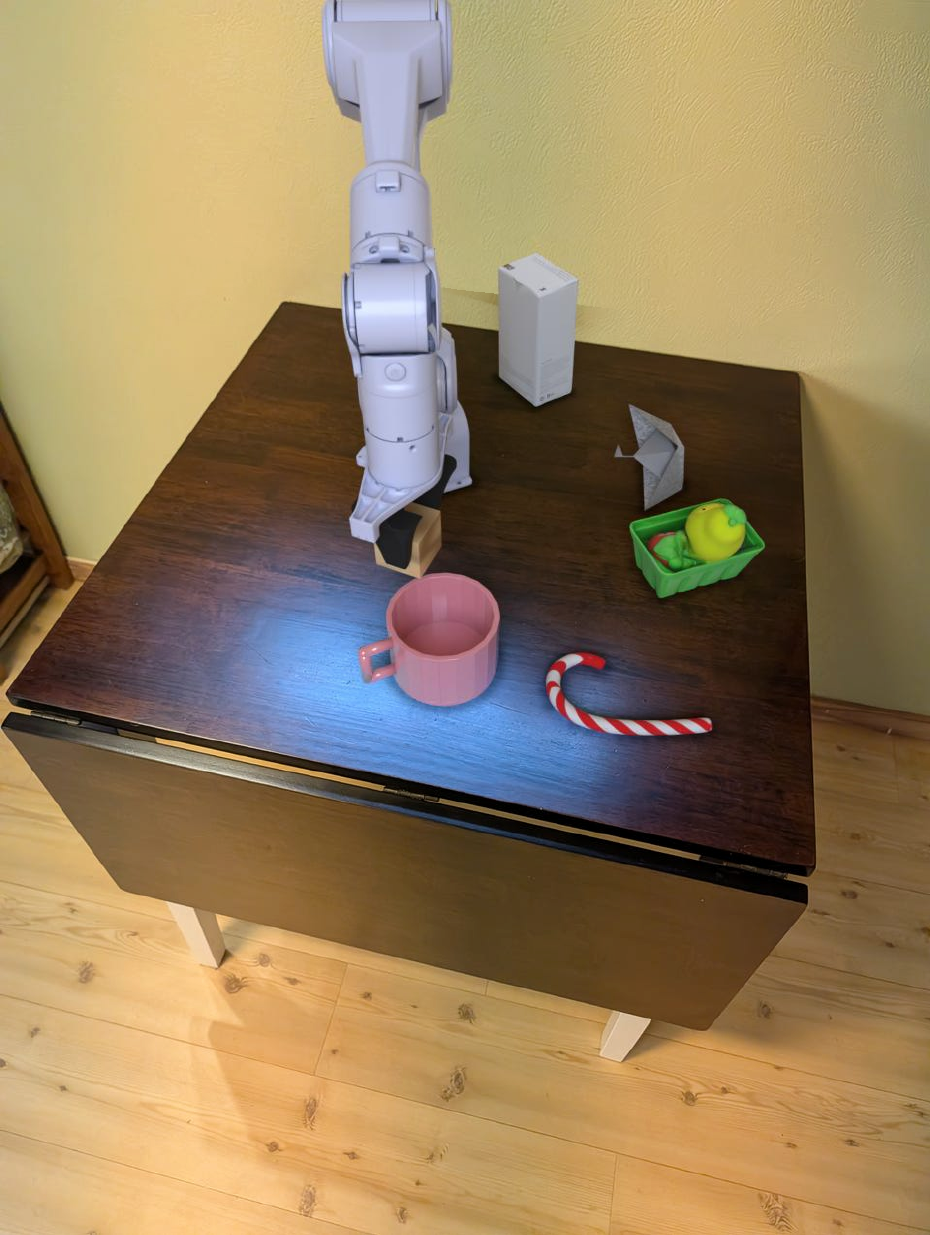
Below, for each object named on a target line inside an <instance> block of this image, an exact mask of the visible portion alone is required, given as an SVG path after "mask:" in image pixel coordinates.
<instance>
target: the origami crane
mask: <svg viewBox="0 0 930 1235" xmlns="http://www.w3.org/2000/svg"><path fill="white" fill-rule="evenodd" d="M628 407H629V411H630V415H631V419H632V425H633V428H634V432H635V437H636V441H637V446H638V450H637V451H636V452H635V453H634V454H633V455H623V453H622V451H621V448H620V445H619V444H617V447H616V450H615V452H614V458H634V459H635V460H636V461H638V462H639V463H640V464H641V465H642V469H643V472H642V473H643V493H644V494H643V496H644V497H643V500H644V511H647V510H649V509H650V508H652V507H654V506H655V505H658V504H659V503H660V502H663V501H664V500H666V499H668V498H669V497H671V496H673V495H674V494H677V493H678V492H680V491H681V490H683V484H684V472H685V471H684V470H685V469H684V468H685V446H684V445H683V443H682V441H681V439H680V438H679V436H678V434H677V433H676V431H675V429H674V427H673V425H672V424H671V423H670V422H668V421H666V420H663V419H662V418H659V417H657V416H655V415H653V414H652V413H651V414H650V413H649V412H646V411H645V410H642V409H641V408H638V407H636V406H634V405H633V404H630V403H628Z"/></svg>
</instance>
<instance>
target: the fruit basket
mask: <svg viewBox="0 0 930 1235" xmlns="http://www.w3.org/2000/svg"><path fill="white" fill-rule="evenodd" d="M629 533H630V536H631V538H632V544H633V552H634V557H635V558H634V559H635V566H637V568H638V569H640V570H641V572H642V576H644V578H645V579H646V581H647V583H648V584H649V585H650V587H651V588H652V589H653V590H655V593H656V596H657V597H658V598H659V599H663V598H666V597H670V596H673V595H675V594H676V593H684V592H688V591H690V590H694V589H696V588H697V587H698V586H699V587H702V586H703V587H704V586H708V585H711V584H712V585H713V584H715V583H717V582H718V581H720V580H723V581H725V580H727V579H732V578H735V577H737V576H738V575H739V573H741V572H742V570H743V569H744V568H746V566H747V565H748V564H749V563H750V561H752V560H753V558H754V557H756V556H757V555H758V554H759V553H761V552H762V551H763V550H764V549H765V548H766V545H765V542H764V540H763V539H762V538H761V537H760V536H759V534H758V533H757V531H755V529H754V528H753V526H752V525H751V524H750V523H749V521H747V514H746V513H745V511H744V509H742V508H740V507H739V506H737V505H735V504H734V503H733V502H731V501H730V500H729V499H727V498H716V499H714V500H710V501H706V502H702V503H699V504H695V505H691V506H687V507H683V508H680V509H676V510H672V511H669V512H668V511H667V512H665V513H661V514H657V515H654V516H650V517H646V518H645V517H644V518H641V519H638V520H634V521H632V522H631V523H630V524H629Z"/></svg>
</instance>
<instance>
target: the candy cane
mask: <svg viewBox="0 0 930 1235" xmlns="http://www.w3.org/2000/svg"><path fill="white" fill-rule="evenodd" d="M606 663H607V661H606V659H605V658H603V657H601V656H599V655H596V654H593V653H589V652H581V651H579V652H572V653H569V654H566V655H564V656H562V657H560V658H558V659H557V660H556V661H555V662H553V664H552V665H551V666H550V668H549V670H548V672H547V674H546V679H545V689H546V694H547V697H548V699H549V701H550V703H551V705H552V706H553V708H554V709H555V710H556V711H557V712H558V713H559V714H560V715H562V717H564V718H565V719H567V720H568V721H569V722H571V723H573V724H575V725H577V726H580V727H582V728H586V729H588V730H592V731H595V732H599V733H605V734H612V735H625V736H677V735H679V736H680V735H693V734H702V733H708V732H710V731H712V730H713V722H712V720H711V719H710V718H709V717H694V718H693V717H692V718H680V719H660V720H659V719H656V720H652V719H651V720H650V719H647V720H646V719H620V718H610V717H603V716H599V715H594V714H591V713H588V712H586V711H583V710H581V709H579V708H578V707H576V706H575V705H573V704H572V703H571V702H569V700H567V698H566V697H565V696H564V694H563V691H562V688H561V680H562V677H563V674H564V673H565V672H566V671H567V670H568V669H570V668H572V667H574V666H579V665H584V666H588V667H591V668H594V669H596V670H603V669H604V667H605V665H606Z"/></svg>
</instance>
